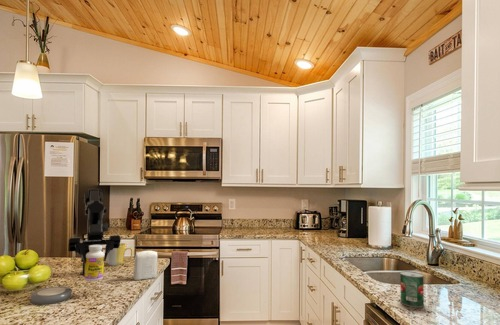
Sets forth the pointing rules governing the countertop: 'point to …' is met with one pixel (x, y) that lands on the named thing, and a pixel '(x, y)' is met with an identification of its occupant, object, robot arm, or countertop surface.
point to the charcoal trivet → (50, 295)
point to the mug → (118, 255)
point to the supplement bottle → (94, 263)
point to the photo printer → (145, 265)
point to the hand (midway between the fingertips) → (95, 261)
